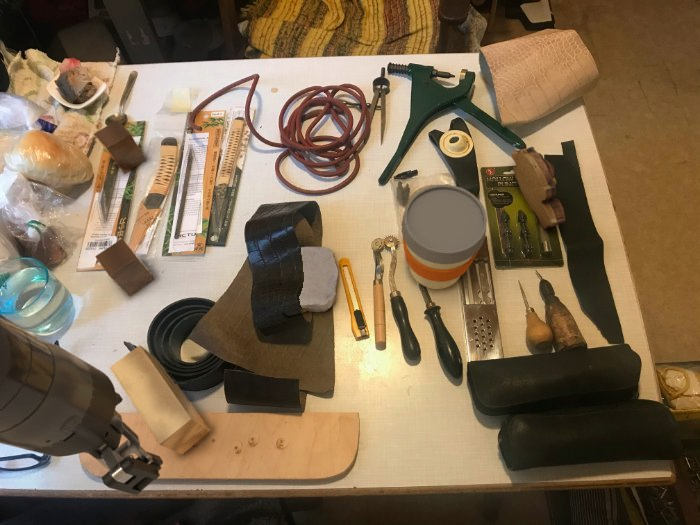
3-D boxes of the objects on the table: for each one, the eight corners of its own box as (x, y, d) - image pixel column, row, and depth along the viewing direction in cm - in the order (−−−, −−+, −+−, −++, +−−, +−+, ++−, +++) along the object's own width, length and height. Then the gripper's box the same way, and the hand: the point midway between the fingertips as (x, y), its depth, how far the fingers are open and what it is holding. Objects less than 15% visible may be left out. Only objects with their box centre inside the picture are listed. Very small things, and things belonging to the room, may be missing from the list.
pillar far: (125, 175, 101) (106, 148, 94) (113, 161, 103) (94, 133, 96) (147, 161, 102) (130, 133, 95) (135, 147, 104) (117, 119, 97)
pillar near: (131, 297, 88) (109, 276, 81) (117, 278, 90) (94, 256, 83) (156, 279, 89) (136, 257, 82) (141, 261, 91) (122, 238, 84)
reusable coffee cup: (394, 238, 91) (396, 187, 78) (464, 231, 91) (479, 178, 78) (404, 303, 85) (408, 259, 72) (479, 295, 85) (497, 250, 71)
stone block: (332, 255, 92) (276, 256, 90) (336, 242, 88) (277, 243, 86) (339, 317, 86) (279, 319, 85) (343, 306, 82) (280, 308, 80)
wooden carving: (567, 232, 89) (587, 198, 81) (543, 240, 89) (561, 207, 80) (520, 163, 97) (534, 126, 88) (498, 171, 97) (510, 134, 88)
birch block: (182, 455, 75) (159, 444, 67) (135, 384, 80) (109, 367, 73) (211, 431, 76) (191, 418, 68) (163, 363, 82) (139, 344, 74)
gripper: (-37, 363, 41) (71, 408, 56) (36, 509, 36) (136, 517, 50) (47, 305, 43) (131, 362, 58) (129, 435, 38) (199, 463, 52)
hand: (133, 434), depth 54 cm, fingers open, 8 cm apart
